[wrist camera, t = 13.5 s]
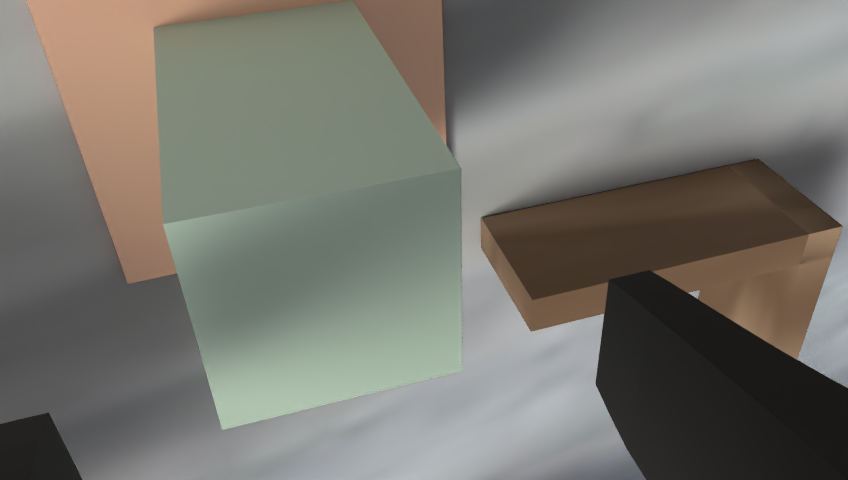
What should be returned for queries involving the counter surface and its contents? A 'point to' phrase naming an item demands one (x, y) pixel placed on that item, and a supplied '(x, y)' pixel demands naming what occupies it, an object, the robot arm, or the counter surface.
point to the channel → (673, 249)
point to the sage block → (305, 211)
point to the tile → (137, 99)
